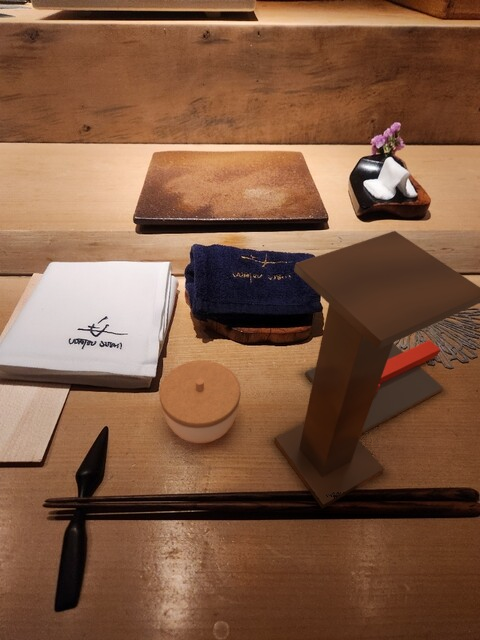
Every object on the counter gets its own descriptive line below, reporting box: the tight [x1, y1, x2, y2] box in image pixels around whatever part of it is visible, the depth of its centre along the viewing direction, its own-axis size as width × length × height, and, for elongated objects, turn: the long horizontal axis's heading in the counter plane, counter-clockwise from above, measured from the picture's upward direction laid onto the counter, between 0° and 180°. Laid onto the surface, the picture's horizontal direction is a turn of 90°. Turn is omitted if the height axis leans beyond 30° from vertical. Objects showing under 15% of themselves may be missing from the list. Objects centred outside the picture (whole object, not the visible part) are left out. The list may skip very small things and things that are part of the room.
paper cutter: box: [304, 343, 444, 435], centre depth 72 cm, size 13×17×1 cm
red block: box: [376, 339, 441, 392], centre depth 73 cm, size 4×20×2 cm, turn 120°
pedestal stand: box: [273, 230, 480, 510], centre depth 53 cm, size 12×13×30 cm
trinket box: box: [158, 359, 241, 444], centre depth 63 cm, size 11×11×9 cm
